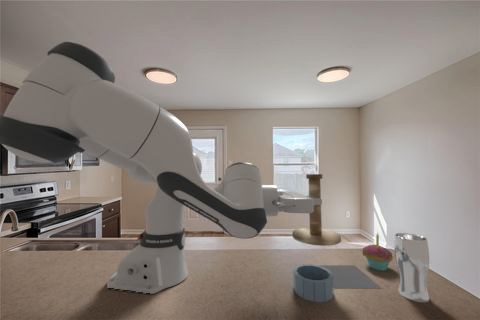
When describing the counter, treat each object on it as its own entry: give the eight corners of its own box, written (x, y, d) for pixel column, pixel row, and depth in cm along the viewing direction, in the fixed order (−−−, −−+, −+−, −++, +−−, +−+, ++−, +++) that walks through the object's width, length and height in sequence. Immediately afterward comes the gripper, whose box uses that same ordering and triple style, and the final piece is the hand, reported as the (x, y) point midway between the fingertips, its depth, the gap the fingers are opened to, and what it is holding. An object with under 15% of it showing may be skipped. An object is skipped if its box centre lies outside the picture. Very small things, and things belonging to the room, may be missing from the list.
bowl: (299, 303, 51) (299, 282, 52) (290, 281, 61) (290, 264, 62) (340, 303, 51) (339, 282, 52) (324, 281, 61) (324, 264, 61)
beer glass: (439, 306, 50) (435, 241, 51) (405, 302, 51) (402, 240, 52) (420, 290, 57) (417, 233, 57) (391, 287, 58) (388, 232, 59)
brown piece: (300, 246, 53) (298, 174, 54) (287, 231, 66) (286, 174, 67) (350, 245, 54) (348, 174, 54) (328, 230, 67) (326, 173, 67)
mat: (330, 289, 57) (330, 288, 57) (313, 266, 71) (313, 265, 71) (382, 289, 57) (382, 288, 57) (354, 266, 71) (354, 265, 71)
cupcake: (397, 275, 64) (395, 235, 65) (366, 271, 67) (364, 233, 68) (388, 264, 73) (386, 228, 73) (360, 260, 75) (358, 226, 76)
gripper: (277, 193, 50) (334, 192, 50) (264, 186, 70) (305, 186, 71) (277, 220, 50) (335, 219, 50) (264, 205, 70) (306, 205, 70)
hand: (317, 200), depth 60 cm, fingers closed on brown piece, 3 cm apart
